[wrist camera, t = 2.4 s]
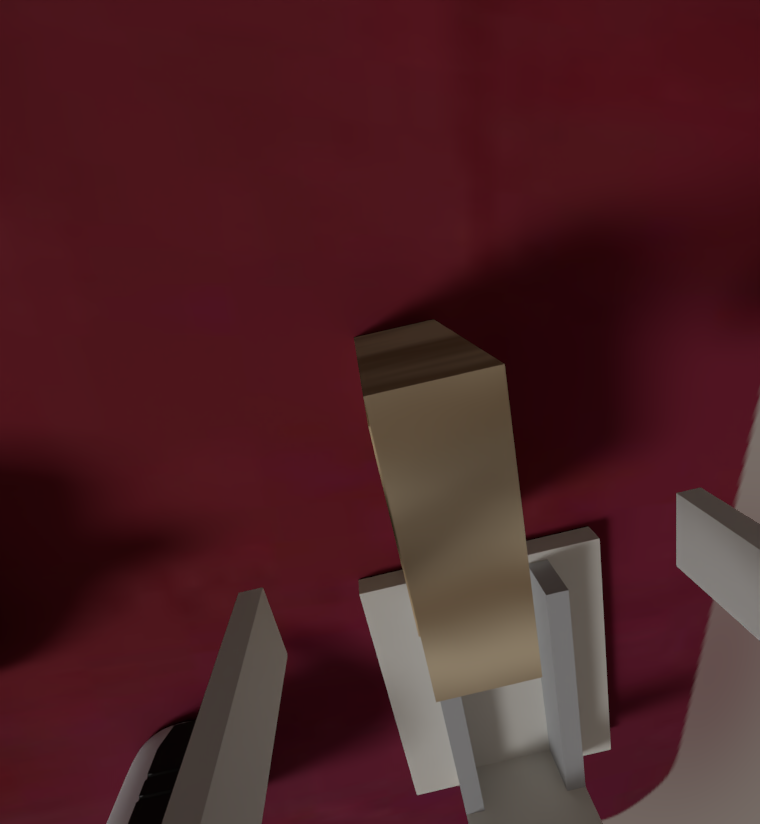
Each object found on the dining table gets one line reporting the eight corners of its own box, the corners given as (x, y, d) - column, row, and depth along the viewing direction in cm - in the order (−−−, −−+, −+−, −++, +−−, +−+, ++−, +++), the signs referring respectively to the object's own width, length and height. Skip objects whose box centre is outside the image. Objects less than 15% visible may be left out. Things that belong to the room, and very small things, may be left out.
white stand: (358, 579, 26) (369, 796, 16) (588, 526, 26) (754, 705, 16) (414, 776, 32) (449, 1029, 22) (601, 732, 32) (728, 962, 22)
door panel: (351, 337, 22) (359, 397, 12) (435, 318, 22) (508, 363, 12) (399, 539, 26) (433, 702, 16) (470, 523, 26) (545, 676, 16)
